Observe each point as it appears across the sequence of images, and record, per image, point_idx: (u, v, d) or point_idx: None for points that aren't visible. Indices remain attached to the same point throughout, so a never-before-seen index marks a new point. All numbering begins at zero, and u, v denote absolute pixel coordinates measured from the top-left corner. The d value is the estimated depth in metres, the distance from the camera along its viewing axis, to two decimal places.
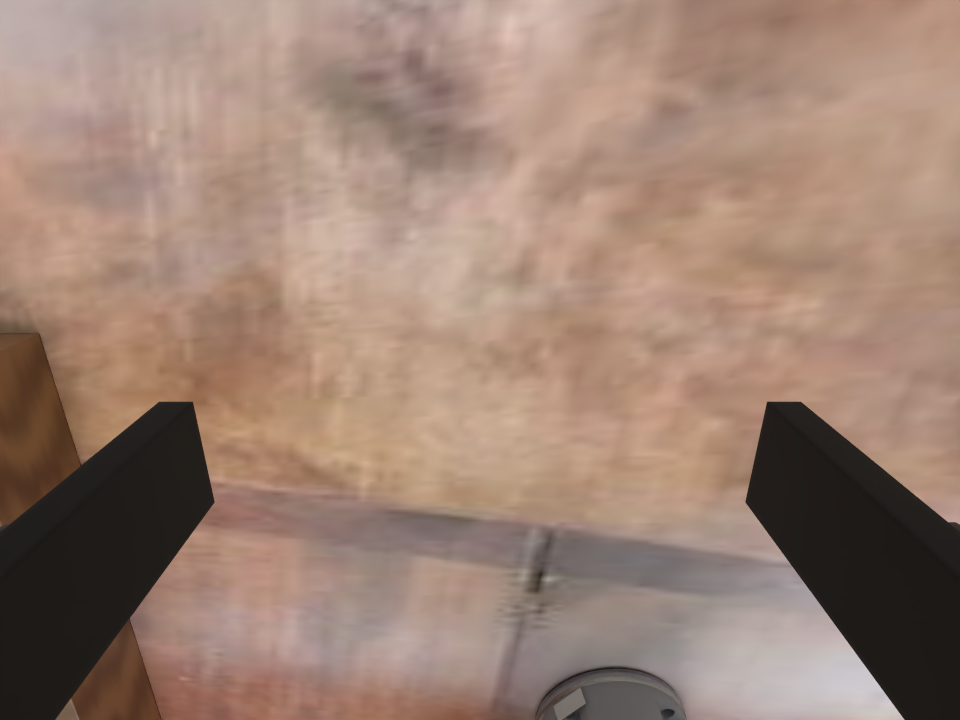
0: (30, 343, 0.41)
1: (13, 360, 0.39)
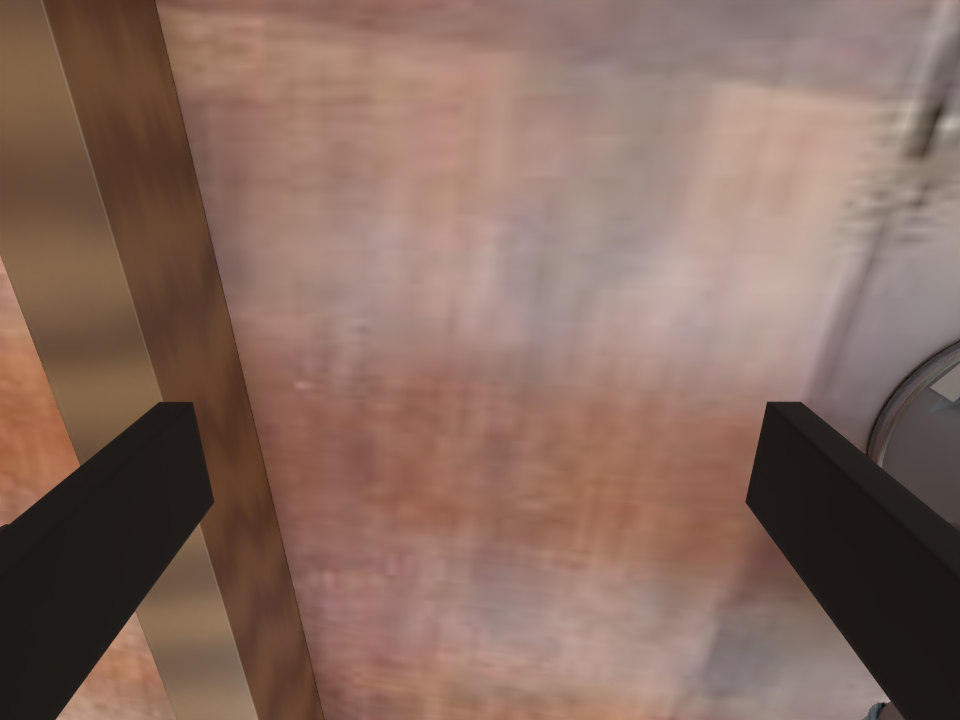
0: None
1: None
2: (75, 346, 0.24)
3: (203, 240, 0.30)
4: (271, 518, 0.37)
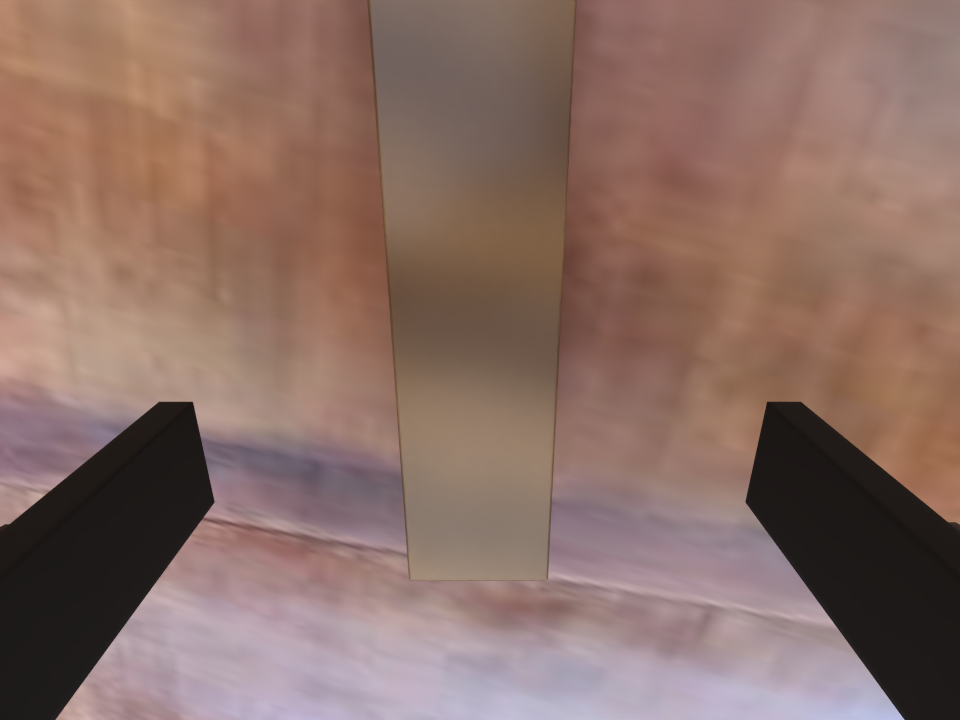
0: None
1: None
2: None
3: None
4: None
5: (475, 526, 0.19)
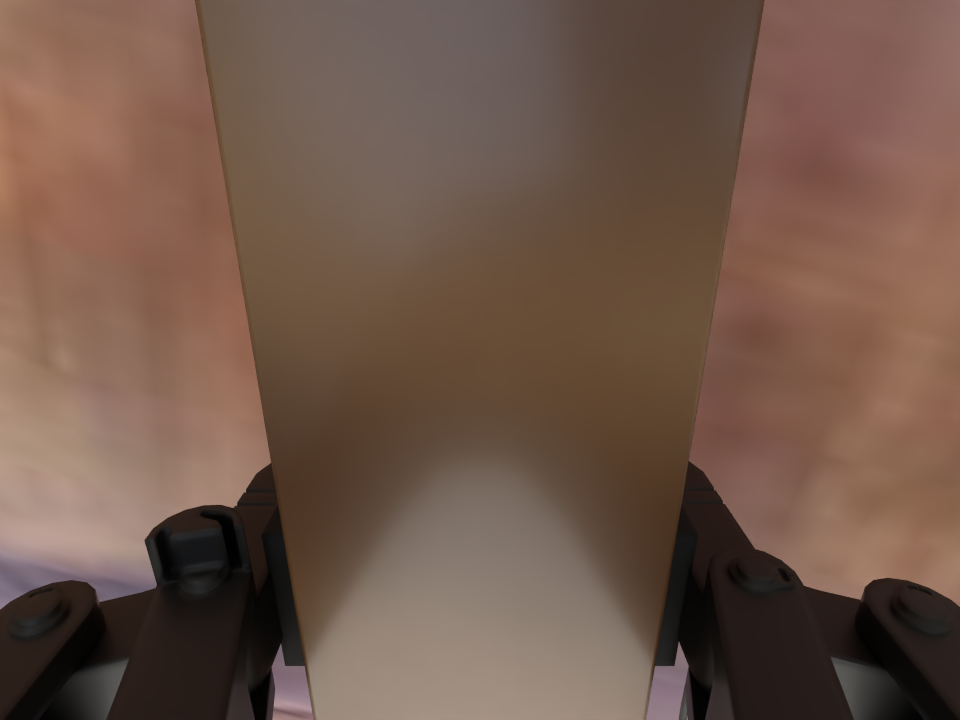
0: None
1: None
2: None
3: None
4: None
5: None
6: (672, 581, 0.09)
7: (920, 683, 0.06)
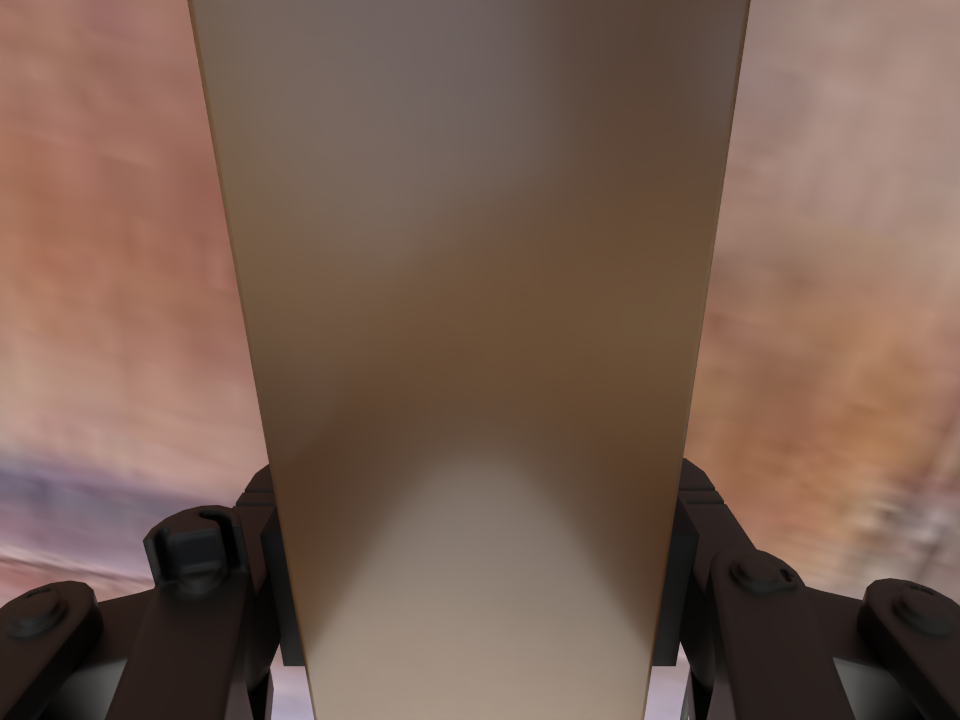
0: None
1: None
2: None
3: None
4: None
5: None
6: (673, 581, 0.09)
7: (922, 683, 0.06)
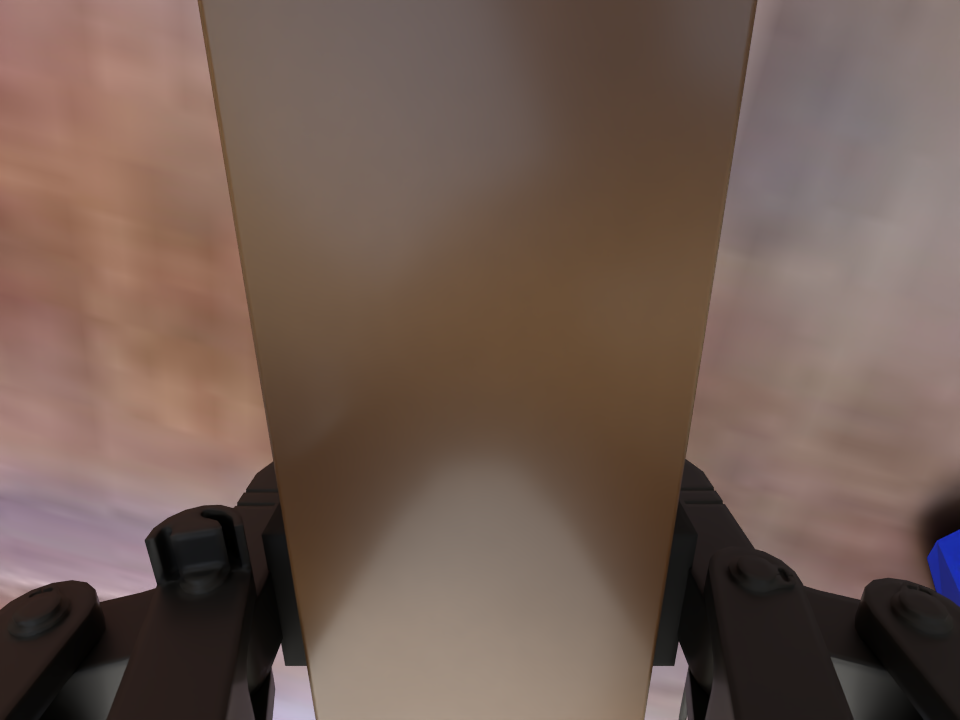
0: None
1: None
2: None
3: None
4: None
5: None
6: (672, 581, 0.09)
7: (920, 683, 0.06)
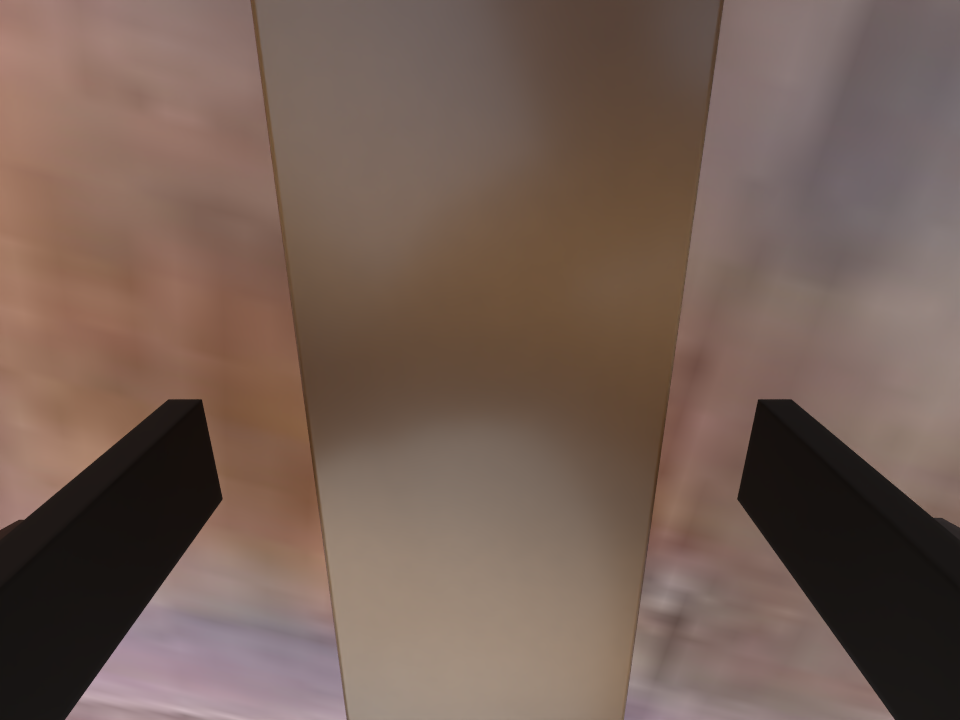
0: None
1: None
2: None
3: None
4: None
5: None
6: None
7: None
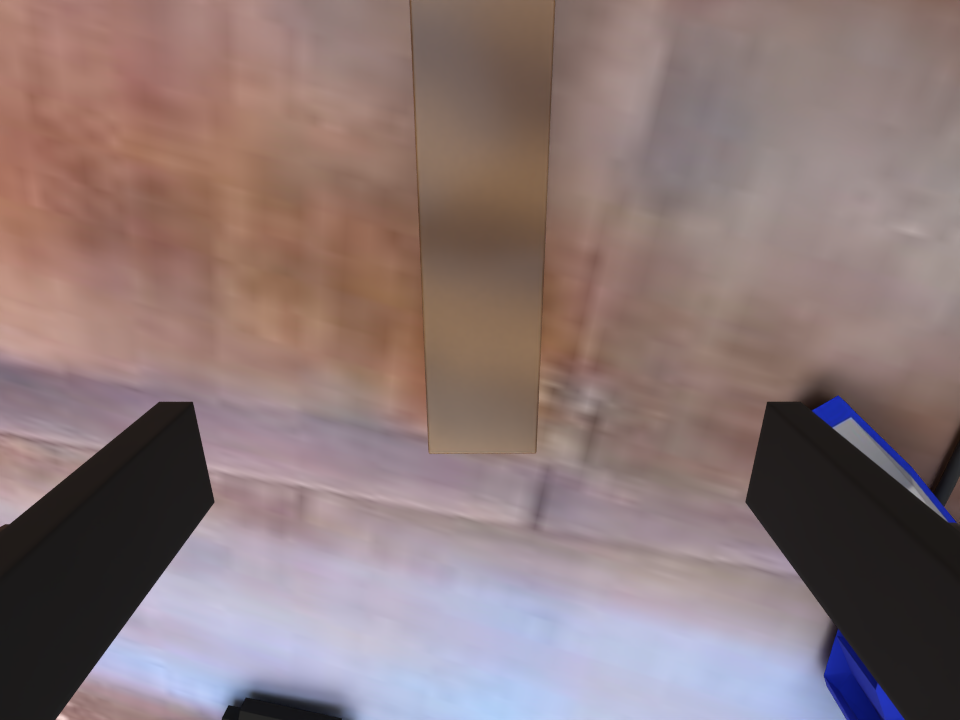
0: None
1: None
2: None
3: None
4: None
5: (480, 407, 0.25)
6: None
7: None
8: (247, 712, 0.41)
